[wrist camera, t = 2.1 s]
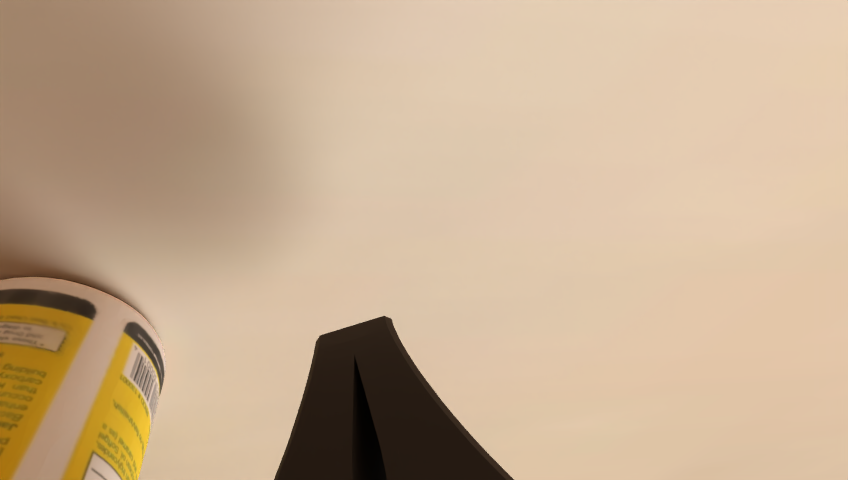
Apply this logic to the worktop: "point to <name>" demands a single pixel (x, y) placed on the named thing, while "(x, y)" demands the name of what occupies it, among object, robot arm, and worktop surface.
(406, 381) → the robot arm
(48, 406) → the supplement bottle
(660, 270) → the worktop surface
